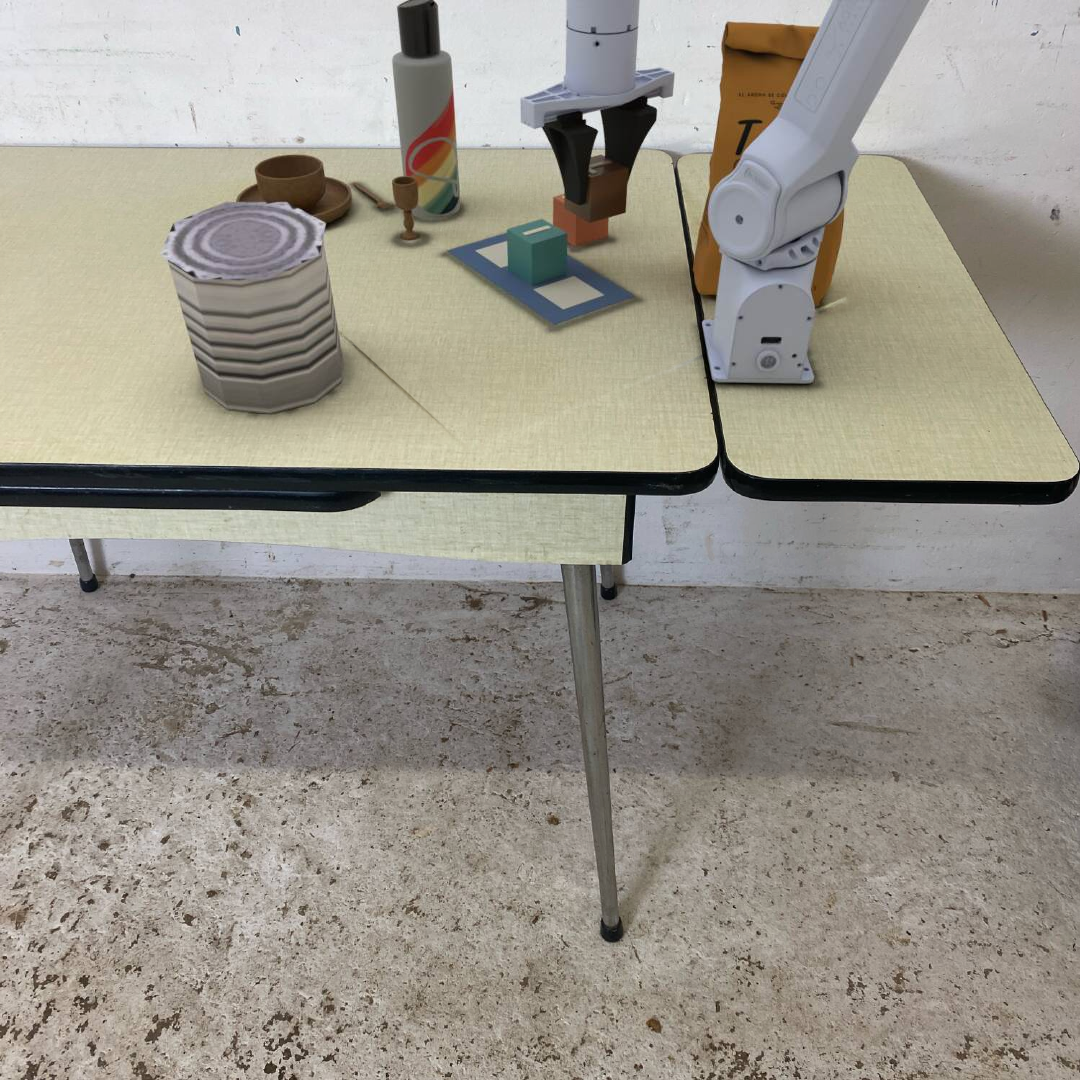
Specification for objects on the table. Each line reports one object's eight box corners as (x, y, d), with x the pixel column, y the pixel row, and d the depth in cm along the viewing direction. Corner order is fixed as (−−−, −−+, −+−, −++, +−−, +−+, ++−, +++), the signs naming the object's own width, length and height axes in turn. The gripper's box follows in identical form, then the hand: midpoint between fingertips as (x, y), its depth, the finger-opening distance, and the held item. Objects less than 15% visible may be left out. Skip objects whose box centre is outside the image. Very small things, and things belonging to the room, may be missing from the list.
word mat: (635, 299, 85) (635, 295, 85) (554, 328, 82) (554, 324, 81) (522, 231, 96) (522, 227, 96) (446, 254, 93) (446, 250, 92)
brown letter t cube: (626, 213, 84) (628, 166, 82) (589, 223, 83) (591, 176, 80) (599, 198, 87) (601, 153, 84) (563, 208, 85) (564, 162, 82)
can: (347, 334, 81) (326, 195, 73) (346, 408, 72) (321, 260, 64) (210, 344, 80) (173, 204, 72) (193, 420, 71) (149, 271, 63)
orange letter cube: (607, 240, 95) (609, 199, 92) (575, 249, 93) (576, 209, 90) (584, 226, 97) (585, 186, 95) (552, 235, 96) (552, 195, 93)
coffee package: (826, 322, 82) (886, 45, 68) (683, 305, 85) (712, 34, 70) (830, 272, 89) (885, 12, 75) (698, 257, 92) (727, 3, 77)
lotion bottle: (452, 223, 98) (437, 7, 85) (400, 219, 99) (377, 4, 86) (466, 202, 102) (454, -8, 89) (416, 198, 103) (396, -10, 90)
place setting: (351, 176, 108) (344, 123, 104) (434, 239, 95) (429, 180, 91) (200, 211, 101) (186, 154, 97) (267, 283, 88) (254, 222, 84)
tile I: (567, 274, 88) (567, 232, 86) (531, 285, 87) (531, 243, 84) (542, 259, 91) (542, 217, 88) (507, 269, 89) (506, 227, 86)
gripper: (641, 2, 80) (631, 164, 89) (497, 28, 74) (502, 199, 83) (697, 19, 76) (681, 187, 85) (549, 48, 70) (548, 226, 79)
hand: (596, 195), depth 84 cm, fingers closed on brown letter t cube, 4 cm apart
